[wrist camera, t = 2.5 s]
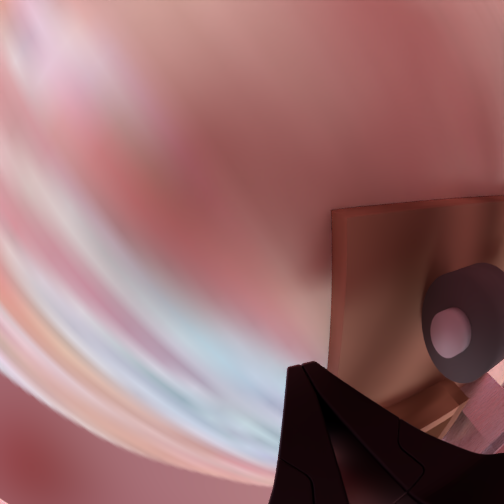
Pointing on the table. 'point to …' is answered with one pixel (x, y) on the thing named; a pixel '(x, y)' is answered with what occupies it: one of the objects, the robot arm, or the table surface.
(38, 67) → the table surface
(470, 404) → the block
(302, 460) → the robot arm
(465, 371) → the wheel
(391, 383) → the frame
